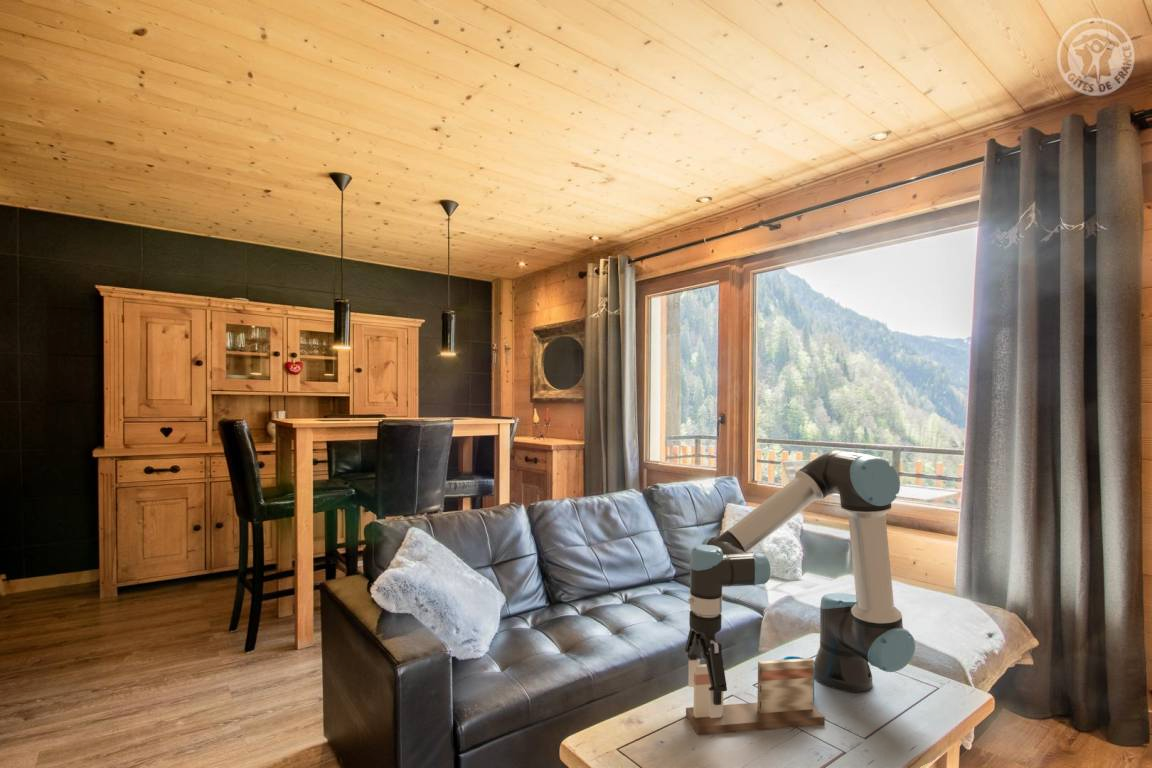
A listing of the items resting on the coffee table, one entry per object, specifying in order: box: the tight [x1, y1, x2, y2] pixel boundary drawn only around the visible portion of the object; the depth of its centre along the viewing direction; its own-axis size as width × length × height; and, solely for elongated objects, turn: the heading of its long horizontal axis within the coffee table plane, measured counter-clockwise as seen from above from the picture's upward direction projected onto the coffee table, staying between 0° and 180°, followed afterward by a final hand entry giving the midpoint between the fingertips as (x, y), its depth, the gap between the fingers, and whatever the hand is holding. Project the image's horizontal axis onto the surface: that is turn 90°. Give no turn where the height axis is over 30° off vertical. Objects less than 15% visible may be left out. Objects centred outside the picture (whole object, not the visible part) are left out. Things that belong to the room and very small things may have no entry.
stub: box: [693, 663, 725, 718], centre depth 138 cm, size 7×1×12 cm, turn 99°
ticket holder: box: [685, 657, 826, 736], centre depth 140 cm, size 32×8×14 cm, turn 99°
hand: (704, 700), depth 138 cm, fingers open, 13 cm apart
